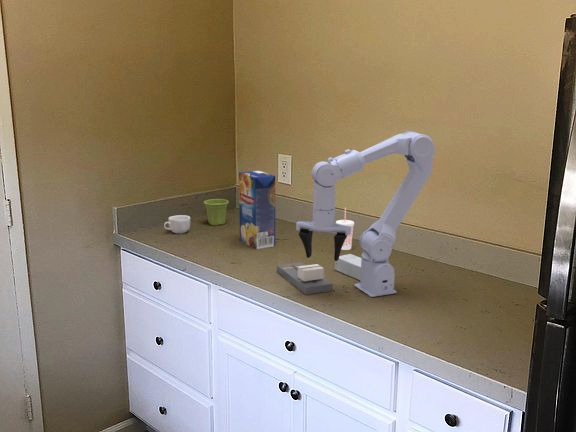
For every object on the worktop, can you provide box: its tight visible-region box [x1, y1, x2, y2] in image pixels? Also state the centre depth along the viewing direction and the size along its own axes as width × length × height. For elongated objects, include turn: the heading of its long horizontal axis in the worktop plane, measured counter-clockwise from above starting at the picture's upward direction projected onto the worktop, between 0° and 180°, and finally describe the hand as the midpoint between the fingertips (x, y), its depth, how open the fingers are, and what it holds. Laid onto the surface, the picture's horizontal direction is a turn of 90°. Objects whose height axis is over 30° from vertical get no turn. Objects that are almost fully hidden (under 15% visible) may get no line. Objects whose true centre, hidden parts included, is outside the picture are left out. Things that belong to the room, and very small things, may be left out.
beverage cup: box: [335, 206, 355, 251], centre depth 202 cm, size 6×6×14 cm
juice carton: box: [238, 170, 276, 250], centre depth 205 cm, size 12×8×24 cm, turn 31°
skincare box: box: [334, 253, 361, 282], centre depth 178 cm, size 6×4×12 cm
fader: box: [298, 263, 325, 281], centre depth 167 cm, size 4×6×3 cm, turn 113°
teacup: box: [163, 214, 191, 235], centre depth 221 cm, size 10×8×5 cm
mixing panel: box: [276, 261, 334, 295], centre depth 172 cm, size 20×8×2 cm, turn 23°
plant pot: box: [203, 198, 229, 226], centre depth 233 cm, size 9×9×9 cm
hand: (322, 258), depth 162 cm, fingers open, 7 cm apart
